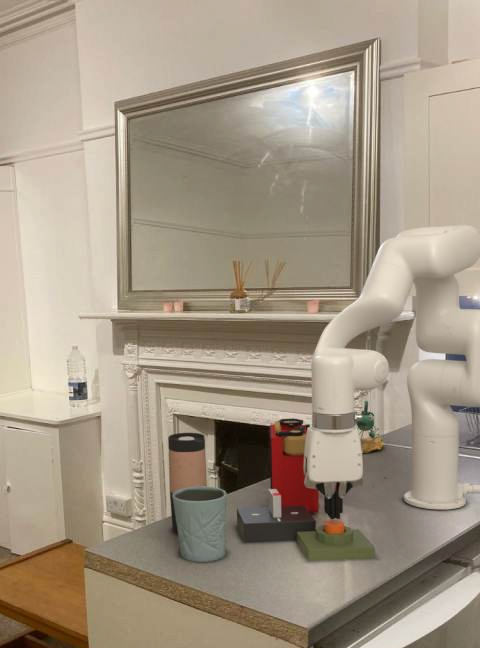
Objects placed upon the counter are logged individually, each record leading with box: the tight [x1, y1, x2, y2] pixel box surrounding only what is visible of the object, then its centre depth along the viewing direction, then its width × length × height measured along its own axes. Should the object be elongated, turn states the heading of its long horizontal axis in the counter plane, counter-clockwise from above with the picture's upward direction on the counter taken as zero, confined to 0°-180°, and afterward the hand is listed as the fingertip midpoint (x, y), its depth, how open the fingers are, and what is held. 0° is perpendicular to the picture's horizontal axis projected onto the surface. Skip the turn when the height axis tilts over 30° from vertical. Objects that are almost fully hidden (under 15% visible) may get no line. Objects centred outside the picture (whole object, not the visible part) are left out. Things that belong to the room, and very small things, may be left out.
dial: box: [267, 488, 281, 518], centre depth 164 cm, size 5×2×5 cm, turn 179°
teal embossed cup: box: [172, 486, 228, 563], centre depth 154 cm, size 10×10×12 cm
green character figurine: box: [354, 400, 385, 454], centre depth 229 cm, size 10×18×15 cm, turn 133°
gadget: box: [236, 506, 317, 544], centre depth 164 cm, size 14×10×4 cm
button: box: [323, 519, 345, 534], centre depth 153 cm, size 4×4×2 cm
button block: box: [296, 524, 376, 562], centre depth 153 cm, size 12×10×4 cm
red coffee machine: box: [267, 417, 320, 514], centre depth 179 cm, size 16×10×20 cm, turn 168°
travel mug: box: [167, 432, 208, 535], centre depth 168 cm, size 8×8×20 cm
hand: (333, 516), depth 152 cm, fingers closed
